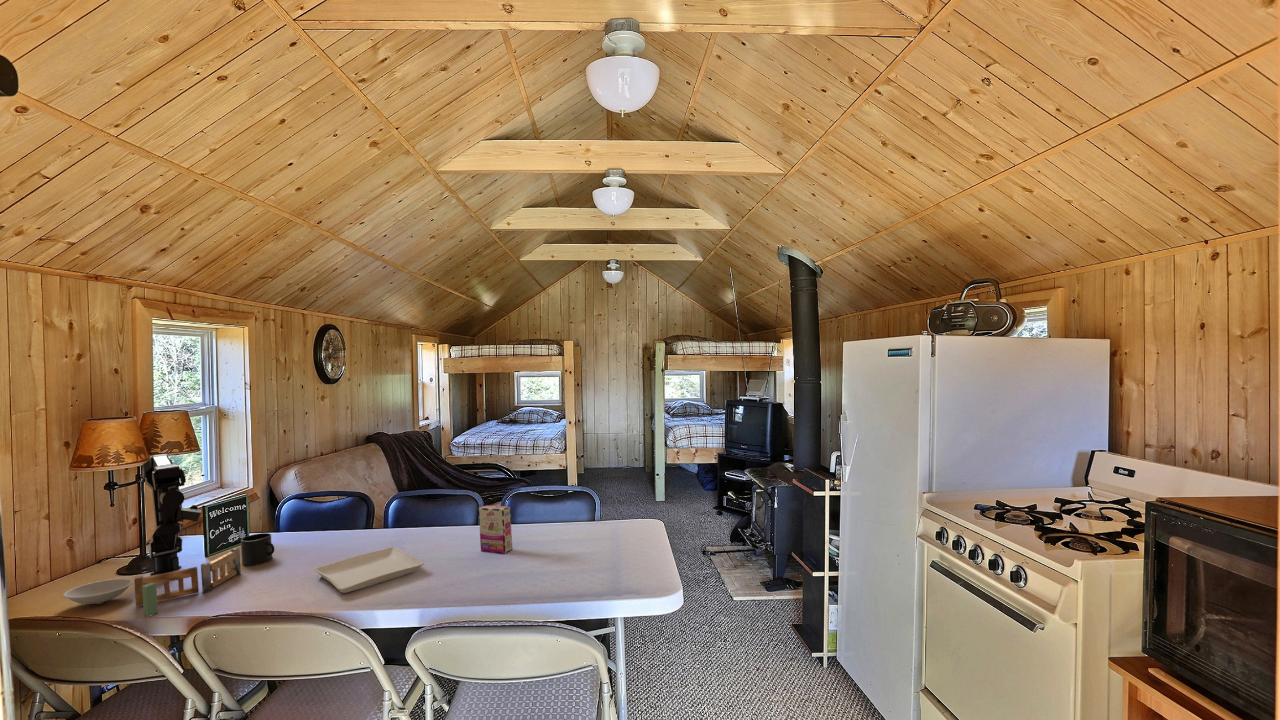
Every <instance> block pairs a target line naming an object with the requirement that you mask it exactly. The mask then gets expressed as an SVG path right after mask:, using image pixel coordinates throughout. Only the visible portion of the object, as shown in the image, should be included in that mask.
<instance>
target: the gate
mask: <svg viewBox="0 0 1280 720" xmlns="http://www.w3.org/2000/svg"><path fill="white" fill-rule="evenodd" d="M198 575H199V574H198V566H194V567H188V568H183V569H177V570H175V571H173V572H168V573H163V574H155V575H150V576H149V575H148V576H145V577H144V575H141V576H136V577H134V578H133V581H134V583H133V584H134V593H135V607H139V606H143V594H142V586H143V585H146V584H149V583H155V584H156V585H159V584H163V588H164V593H160V594H157V603H158V602H162V601H166V600H172V599H175V598H181V597H185V596H188V595H193V594H198V593H199V592H200V591H199V576H198ZM189 578H191V579H190V581H191V583H190V584H191V587H188V588H187V587H186V588H184V584H185V583H184V579H189ZM173 581H174V582H175V581H177V582H178V583H177V584H178V590H175V591H171V589H170V582H173Z"/></svg>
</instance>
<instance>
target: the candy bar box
mask: <svg viewBox="0 0 1280 720" xmlns="http://www.w3.org/2000/svg"><path fill="white" fill-rule="evenodd" d="M511 516H512V515H511V506H507V505H494V504H493V505H492V504H491V505H489V504H486V505H483V506H480V507H478V518H479V520H478V521H479V523H478V524H479V536H480V552H484V553H494V554H507V553H510V552H511V551H512V550H513V540H512V539H513V538H512V537H513V536H512V520H511V519H512V518H511Z"/></svg>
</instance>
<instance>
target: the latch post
mask: <svg viewBox="0 0 1280 720" xmlns="http://www.w3.org/2000/svg"><path fill="white" fill-rule="evenodd" d="M157 593H158V592H157V584H155V583H149V584H146V585H143V586H142V594H143V605H142V606H143V616H144V617H147V616H149V617H151V616H150V615H152V616H154V615H153V614H155V613H159V611H158V602H157V595H158V594H157ZM155 615H156V614H155Z"/></svg>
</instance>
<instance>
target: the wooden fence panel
mask: <svg viewBox="0 0 1280 720" xmlns="http://www.w3.org/2000/svg"><path fill="white" fill-rule="evenodd" d="M240 554H241V553H240V547H234V548H231V549H230V551H229V552H228V553H225V554H223V555H221V556H219V557H217V558H216V559H213V560H211V561H210V562H205V563H201V564H200V572H201V573H200V575H201V590H202V591H201V592H203V594H206V593H210V592H212V589H213V588H215V587H217V586H219V585H220V584H222V583H224V582H225V581H228V580H229V579H231V578H233V577H235V576H239V575H241V574H242V571H241V570H242V569H241V555H240ZM211 574H212V576H211Z"/></svg>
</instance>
